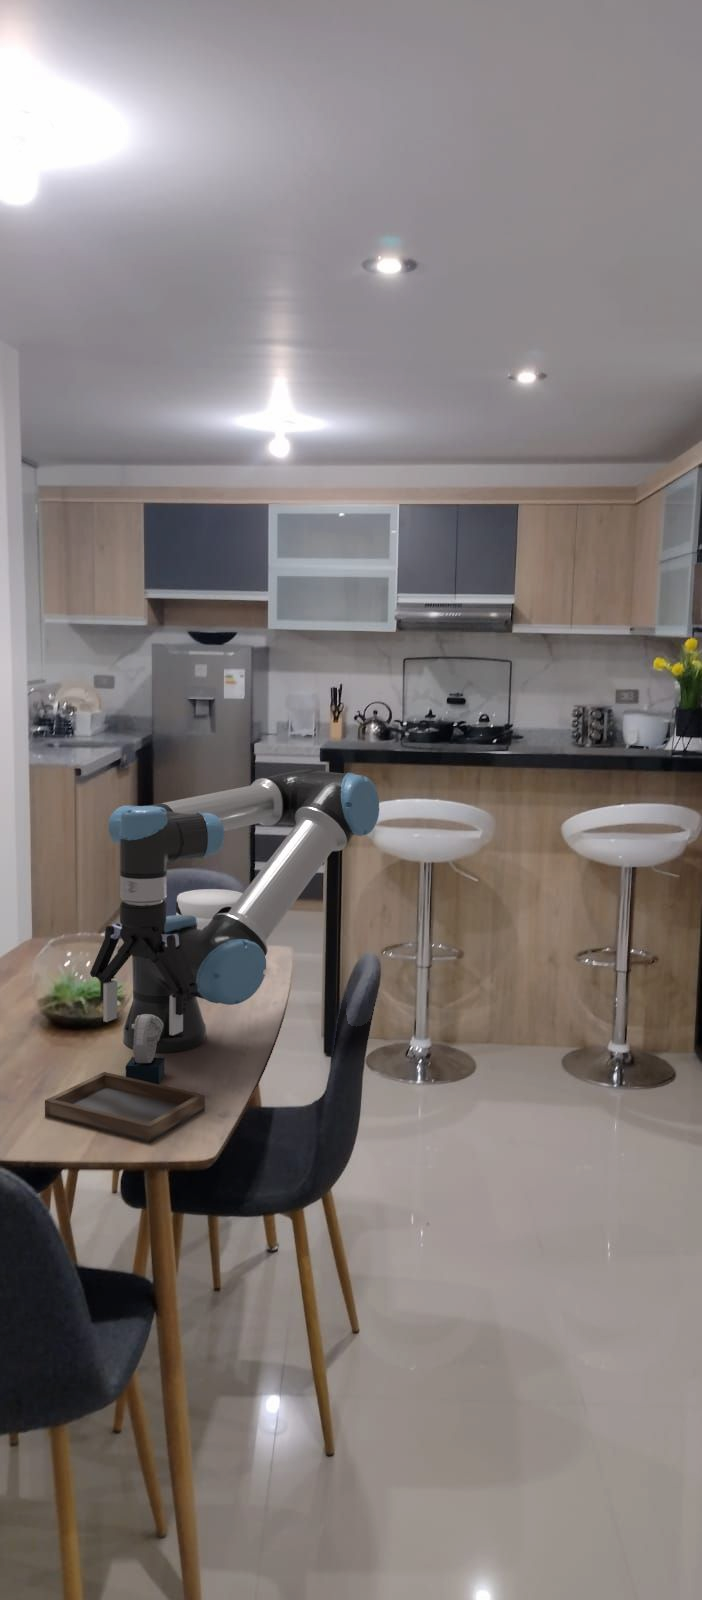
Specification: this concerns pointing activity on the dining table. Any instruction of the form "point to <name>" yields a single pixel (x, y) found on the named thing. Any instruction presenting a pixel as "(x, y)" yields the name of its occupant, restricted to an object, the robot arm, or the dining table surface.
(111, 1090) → the valet tray
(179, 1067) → the dining table surface
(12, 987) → the dining table surface
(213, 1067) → the dining table surface
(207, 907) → the white pedestal bowl
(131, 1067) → the watch
